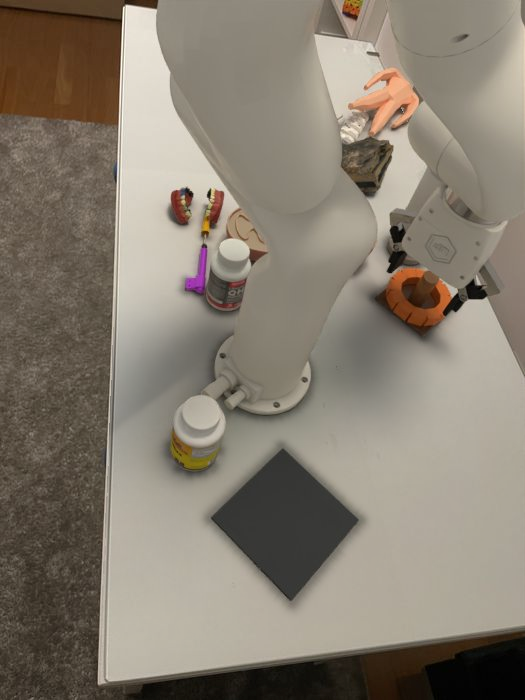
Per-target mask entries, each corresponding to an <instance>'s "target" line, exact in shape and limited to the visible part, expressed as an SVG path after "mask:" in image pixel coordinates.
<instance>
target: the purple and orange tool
mask: <svg viewBox="0 0 525 700" xmlns="http://www.w3.org/2000/svg"><path fill="white" fill-rule="evenodd" d="M202 222H203V223H202V227H201V235H202V236H203V237H204V238H203V239H204V240H203V243H202V245H201V246H200V247H201V248H200V253H199V265H198V274H197V275H195V277H186V280H185V281H186V282H185V290H186V291H195V292H196V293H198V294H200V295H201V294H203V293H205V292H206V282H207V281H206V280H207V277H206V276H207V275H206V274H207V263H208V262H207V260H208V245H207V243H206V241H207V237H208V236H209V235H210V231H211V227H210V225H211V224H210V223H211V222H210V221H209V220H208V217H207V216H205V215H204V216H203V221H202Z"/></svg>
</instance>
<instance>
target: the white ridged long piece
mask: <svg viewBox="0 0 525 700" xmlns="http://www.w3.org/2000/svg"><path fill="white" fill-rule="evenodd" d="M351 112H352V113H351V114H350V115H349V116H348V118H347V119H346V120H344V122H343V124H344V125H341V126H340V134H341V139H342V142H344V143H345V144H346V145H348V144H351V143H353V142H356V141H358V138H359V135H361V134H362V131H363V129H364V128H365V126H366V125H367V123H368V121H369V120H370V115H369V113H368V112H366V111H360V110H357V109H353V110H352V111H351Z"/></svg>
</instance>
